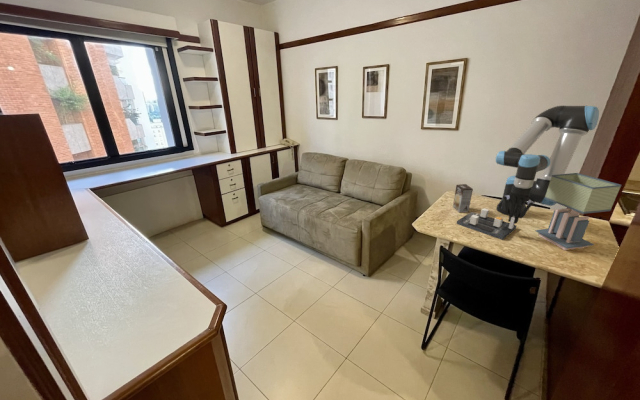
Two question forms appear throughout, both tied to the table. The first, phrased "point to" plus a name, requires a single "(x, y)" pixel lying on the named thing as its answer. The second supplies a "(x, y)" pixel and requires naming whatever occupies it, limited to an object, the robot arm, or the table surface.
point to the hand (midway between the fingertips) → (511, 227)
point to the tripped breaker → (498, 222)
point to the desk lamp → (576, 207)
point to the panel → (487, 226)
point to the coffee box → (462, 198)
